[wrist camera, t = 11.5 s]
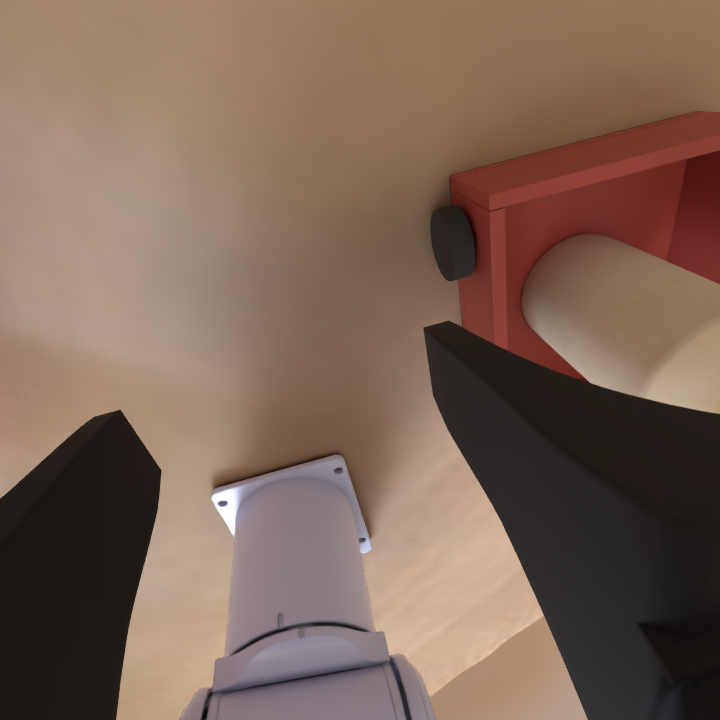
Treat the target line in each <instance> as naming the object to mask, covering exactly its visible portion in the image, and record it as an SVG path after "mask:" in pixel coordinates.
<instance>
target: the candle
mask: <svg viewBox="0 0 720 720" xmlns="http://www.w3.org/2000/svg"><path fill="white" fill-rule="evenodd" d="M521 305H522V311H523V315H524V317H525V319H526V321H527V322H528V324H529V325H530V327H531V328H532V329H533V330H534V331H535V332H536V333H537V334H538V335H539V336H540V337H541V338H542V339H543V340H544V341H545V342H546V343H548V344H549V345H550V346H551V347H552V348H553V349H554V350H555V351H556V352H557V353H558V354H559V355H561V356H562V357H563V358H564V359H565V360H566V361H567V362H568V363H569V364H570V365H571V366H573V367H574V368H575V369H576V370H577V371H578V372H579V373H580V374H581V375H582V376H583V377H585V378H586V379H587V380H588V381H589V382H590V383H592V384H595V385H598V386H601V387H604V388H607V389H611V390H614V391H618V392H622V393H625V394H629V395H633V396H637V397H641V398H645V399H650V400H654V401H658V402H662V403H666V404H670V405H675V406H680V407H685V408H690V409H695V410H700V411H706V412H711V413H717V414H720V284H718V283H715V282H713V281H711V280H708V279H706V278H704V277H702V276H699V275H697V274H695V273H692V272H690V271H688V270H685V269H683V268H681V267H679V266H676V265H674V264H672V263H669V262H667V261H665V260H662V259H660V258H658V257H656V256H653V255H651V254H649V253H646V252H644V251H642V250H639V249H637V248H635V247H632V246H630V245H628V244H626V243H623V242H621V241H618V240H616V239H613V238H611V237H608V236H605V235H600V234H590V233H589V234H580V235H576V236H573V237H570V238H567V239H565V240H563V241H561V242H560V243H558V244H556V245H555V246H553V247H552V248H551V249H550V250H548V251H547V252H546V253H545V254H544V255H543V256H542V257H541V258H540V259H539V260H538V261H537V263H536V264H535V265H534V267H533V268H532V270H531V271H530V273H529V275H528V277H527V279H526V281H525V284H524V287H523V291H522V298H521Z"/></svg>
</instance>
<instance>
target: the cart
mask: <svg viewBox="0 0 720 720" xmlns="http://www.w3.org/2000/svg"><path fill="white" fill-rule="evenodd" d="M450 183H451V195H452V206H454V205H456V206H459V207H460V208H461V209H462V210H463V212H464V213H465V215H466V217H467V219H468V221H469V224H470V227H471V230H472V234H473V239H474V245H475V267H474V271H473V273H472V274H471V275H470V276H468V277H464V278H461V279H459V289H460V301H461V313H462V325H463V328H464V329H466V330H468V331H470V332H472V333H474V334H476V335H478V336H479V337H481V338H483V339H485V340H487V341H489V342H491V343H493V344H495V345H497V346H499V347H501V348H503V349H505V350H508V351H510V352H512V353H514V354H516V355H518V356H521V357H523V358H525V359H527V360H530V361H532V362H534V363H537V364H539V365H542V366H544V367H547V368H549V369H552V370H554V371H557V372H559V373H562V374H565V375H567V376H570V377H573V378H576V379H579V380H582V381H585V382H589V381H588V380H587V379H586V378H585V377H583V376H582V375H581V374H580V373H579V372H578V371H577V370H576V369H575V368H574V367H573V366H571V365H570V364H569V363H568V362H567V361H566V360H565V359H564V358H563V357H562V356H561V355H559V354H558V353H557V352H556V351H555V350H554V349H553V348H552V347H551V346H550V345H549V344H548V343H546V342H545V341H544V340H543V339H542V338H541V337H540V336H539V335H538V334H537V333H536V332H535V331H534V330H533V329H532V328H531V327H530V325H529V324H528V322H527V321H526V319H525V317H524V315H523V311H522V305H521V298H522V291H523V287H524V284H525V281H526V279H527V277H528V275H529V273H530V271H531V270H532V268H533V267H534V265H535V264H536V263H537V261H538V260H539V259H540V258H541V257H542V256H543V255H544V254H545V253H546V252H547V251H548V250H550V249H551V248H552V247H553V246H555V245H556V244H558V243H560V242H561V241H563V240H565V239H567V238H570V237H573V236H576V235H580V234H589V233H590V234H600V235H605V236H608V237H611V238H613V239H616V240H618V241H621V242H623V243H626V244H628V245H630V246H632V247H635V248H637V249H639V250H642V251H644V252H646V253H649V254H651V255H653V256H656V257H658V258H660V259H662V260H665V261H667V262H669V263H672V264H674V265H676V266H679V267H681V268H683V269H685V270H688V271H690V272H692V273H695V274H697V275H699V276H702V277H704V278H706V279H708V280H711V281H713V282H715V283H718V284H720V112H702V111H697V112H693V113H689V114H685V115H681V116H677V117H673V118H670V119H666V120H662V121H658V122H654V123H650V124H646V125H643V126H639V127H635V128H631V129H627V130H623V131H619V132H616V133H612V134H608V135H604V136H600V137H596V138H593V139H589V140H585V141H581V142H577V143H573V144H569V145H566V146H562V147H558V148H554V149H550V150H546V151H542V152H539V153H535V154H531V155H527V156H523V157H519V158H515V159H512V160H508V161H504V162H500V163H496V164H492V165H489V166H485V167H481V168H477V169H473V170H469V171H465V172H462V173H458V174H454V175H451V176H450ZM589 383H590V382H589Z"/></svg>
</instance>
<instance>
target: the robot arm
mask: <svg viewBox="0 0 720 720" xmlns="http://www.w3.org/2000/svg"><path fill="white" fill-rule="evenodd" d="M424 335H425V342H426V349H427V356H428V363H429V370H430V377H431V384H432V391H433V396H434V398H435V401H436V403H437V406H438V408H439V410H440V413H441V415H442V417H443V420H444V422H445V424H446V426H447V429H448V431H449V432H450V434H451V436H452V437H453V439H454V441H455V443H456V444H457V446H458V448H459V449H460V451H461V453H462V455H463V456H464V458H465V460H466V461H467V463H468V465H469V466H470V468H471V470H472V471H473V473H474V475H475V476H476V478H477V480H478V481H479V483H480V485H481V486H482V488H483V490H484V491H485V493H486V495H487V497H488V498H489V500H490V502H491V503H492V505H493V507H494V509H495V511H496V512H497V514H498V516H499V518H500V520H501V522H502V524H503V526H504V528H505V530H506V532H507V535H508V537H509V539H510V541H511V543H512V545H513V547H514V550H515V552H516V554H517V556H518V558H519V560H520V562H521V565H522V567H523V569H524V571H525V574H526V576H527V578H528V580H529V583H530V585H531V587H532V589H533V591H534V594H535V596H536V598H537V600H538V603H539V605H540V607H541V609H542V612H543V614H544V616H545V619H546V621H547V623H548V626H549V628H550V630H551V632H552V635H553V637H554V639H555V642H556V644H557V646H558V649H559V651H560V653H561V656H562V658H563V660H564V662H565V665H566V668H567V670H568V672H569V675H570V677H571V680H572V682H573V685H574V687H575V689H576V692H577V694H578V697H579V699H580V701H581V704H582V706H583V709H584V711H585V714H586V716H587V718H588V720H720V414H717V413H711V412H706V411H700V410H695V409H690V408H685V407H680V406H675V405H670V404H666V403H662V402H658V401H654V400H650V399H645V398H641V397H637V396H633V395H629V394H625V393H622V392H618V391H614V390H611V389H607V388H604V387H601V386H598V385H595V384H592V383H589V382H585V381H582V380H579V379H576V378H573V377H570V376H567V375H565V374H562V373H559V372H557V371H554V370H552V369H549V368H547V367H544V366H542V365H539V364H537V363H534V362H532V361H530V360H527V359H525V358H523V357H521V356H518V355H516V354H514V353H512V352H510V351H508V350H505V349H503V348H501V347H499V346H497V345H495V344H493V343H491V342H489V341H487V340H485V339H483V338H481V337H479V336H478V335H476V334H474V333H472V332H470V331H468V330H466V329H464V328H462V327H460V326H458V325H456V324H454V323H452V322H450V321H446V322H442V323H439V324H435V325H431V326H428V327H424ZM336 468H340V469H336ZM160 481H161V469H160V468H159V466H158V465H157V463H156V462H155V460H154V459H153V457H152V456H151V454H150V453H149V451H148V450H147V449H146V447H145V446H144V444H143V443H142V441H141V440H140V438H139V437H138V435H137V434H136V432H135V431H134V429H133V428H132V426H131V425H130V423H129V422H128V420H127V419H126V417H125V416H124V414H123V413H122V411H121V410H118V411H114V412H110V413H107V414H103V415H99V416H96V417H93V418H92V419H91V420H89V421H88V422H87V423H85V424H84V425H83V426H81V427H80V428H79V429H78V430H77V431H75V432H74V433H73V434H72V435H71V436H70V437H68V438H67V439H66V440H65V441H64V442H63V443H62V444H61V445H59V446H58V447H57V448H56V449H55V450H54V451H53V452H52V453H51V454H50V455H48V456H47V457H46V458H45V459H44V460H43V461H42V462H41V463H40V464H39V465H37V466H36V467H35V468H34V469H33V470H32V471H31V472H30V473H29V474H28V475H26V476H25V477H24V478H23V479H22V480H21V481H20V482H19V483H18V484H17V485H16V486H14V487H13V488H12V489H11V490H10V491H9V492H8V493H6V494H5V495H4V496H3V497H2V498H1V499H0V720H116V715H117V706H118V698H119V689H120V681H121V674H122V667H123V660H124V654H125V647H126V640H127V634H128V628H129V623H130V619H131V614H132V609H133V605H134V601H135V597H136V593H137V589H138V586H139V582H140V578H141V574H142V570H143V566H144V562H145V559H146V555H147V551H148V547H149V543H150V539H151V535H152V531H153V527H154V523H155V519H156V514H157V510H158V502H159V493H160ZM211 500H212V502H213V503H214V505H215V507H216V508H217V510H218V512H219V513H220V515H221V516H222V518H223V520H224V521H225V523H226V525H227V526H228V528H229V530H230V531H231V533H232V534H233V536H234V546H233V558H232V570H231V582H230V594H229V606H228V619H227V631H226V643H225V655H224V657H223V658H218V659H216V660H215V668H214V678H213V687H207V688H201V689H199V690H198V691H197V692H196V693H195V694H194V696H193V698H192V700H191V702H190V703H189V704H188V706H187V707H186V708H185V710H184V711H183V713H182V714H181V716H180V719H179V720H435V716H434V712H433V708H432V705H431V701H430V698H429V695H428V692H427V689H426V686H425V684H424V681H423V679H422V677H421V675H420V673H419V672H418V670H417V669H416V668H415V667H414V666H413V665H412V664H411V663H409V661H408V660H407V659H406V657H405V656H404V655H402V654H395V655H390V656H389V653H388V648H387V643H386V638H385V633H384V632H382V631H381V632H376V629H375V624H374V619H373V614H372V609H371V603H370V598H369V593H368V588H367V583H366V578H365V572H364V567H363V562H362V557H361V554H362V553H366V552H368V551H370V550H371V548H372V544H371V541H370V538H369V534H368V531H367V528H366V525H365V522H364V519H363V516H362V513H361V510H360V507H359V504H358V500H357V497H356V494H355V491H354V488H353V485H352V482H351V479H350V476H349V473H348V470H347V467H346V463H345V460H344V458H343V457H342V456H341V455H332V456H329V457H325V458H322V459H318V460H314V461H311V462H307V463H304V464H300V465H297V466H293V467H289V468H286V469H282V470H279V471H275V472H271V473H268V474H264V475H261V476H257V477H254V478H250V479H246V480H243V481H239V482H236V483H232V484H229V485H225V486H221V487H218V488H215V489H213V490H212V492H211ZM222 500H224V501H222Z"/></svg>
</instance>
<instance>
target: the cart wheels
mask: <svg viewBox="0 0 720 720" xmlns="http://www.w3.org/2000/svg"><path fill="white" fill-rule="evenodd" d="M431 240H432V246H433V251H434V255H435V258H436V261H437V264H438V267H439V269H440V271H441V273H442V275H443V276H444V278H445V279H446V280H448V281H453V280H457V279H461V278H464V277H468V276H470V275H471V274H472V273H473V271H474V267H475V245H474V239H473V234H472V230H471V227H470V224H469V221H468V219H467V217H466V215H465V213H464V212H463V210H462V209H461V208H460V207H459V206H456V205H454V206H450V207H446V208H442V209H439V210H435V211H434V212H433V214H432V217H431Z"/></svg>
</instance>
